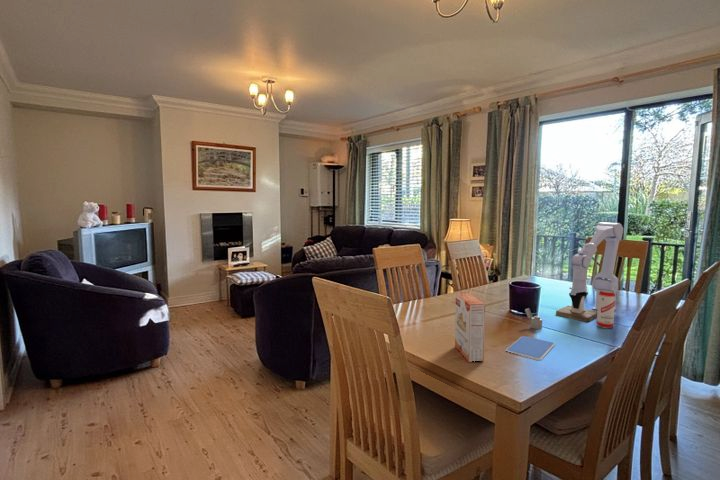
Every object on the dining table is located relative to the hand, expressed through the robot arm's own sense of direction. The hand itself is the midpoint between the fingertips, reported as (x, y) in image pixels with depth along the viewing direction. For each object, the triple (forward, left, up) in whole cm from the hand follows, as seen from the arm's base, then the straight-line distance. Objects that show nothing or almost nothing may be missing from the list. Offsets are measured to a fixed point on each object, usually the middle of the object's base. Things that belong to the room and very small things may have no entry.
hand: (577, 307), depth 180 cm
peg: (0, 0, -2) cm, 2 cm away
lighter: (+33, -6, -4) cm, 34 cm away
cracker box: (+79, -8, -4) cm, 80 cm away
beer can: (+8, +14, -4) cm, 17 cm away
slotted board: (0, 0, -4) cm, 4 cm away
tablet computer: (+56, +4, -5) cm, 56 cm away
